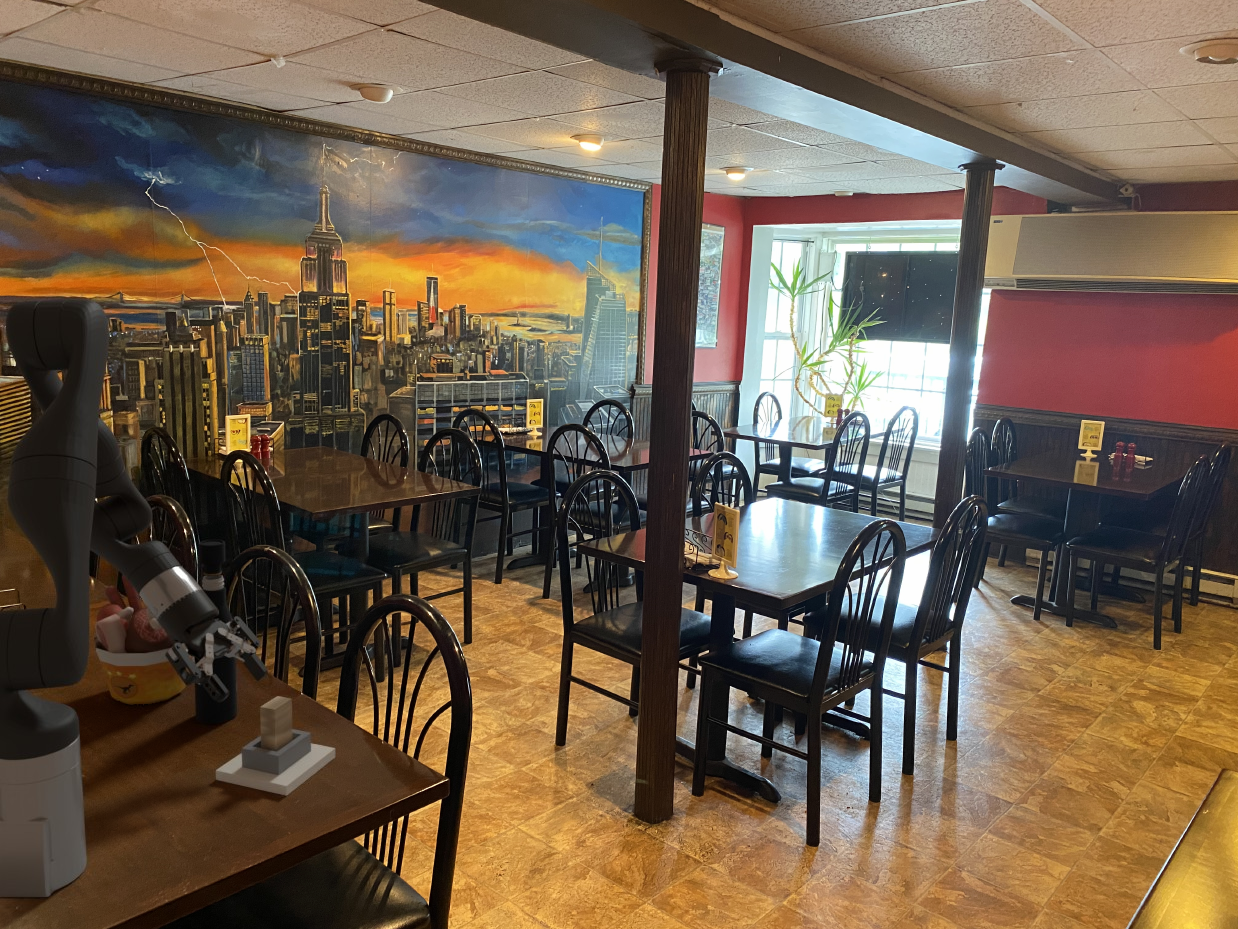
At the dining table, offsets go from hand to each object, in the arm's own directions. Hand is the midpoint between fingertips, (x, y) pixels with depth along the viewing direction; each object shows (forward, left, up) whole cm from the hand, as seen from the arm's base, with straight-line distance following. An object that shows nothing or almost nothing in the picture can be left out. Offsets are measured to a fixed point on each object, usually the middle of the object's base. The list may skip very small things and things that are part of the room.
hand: (244, 687), depth 137 cm
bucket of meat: (+24, +25, -12) cm, 37 cm away
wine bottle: (+15, +10, -12) cm, 22 cm away
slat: (-2, -5, -10) cm, 12 cm away
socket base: (-2, -5, -12) cm, 13 cm away
